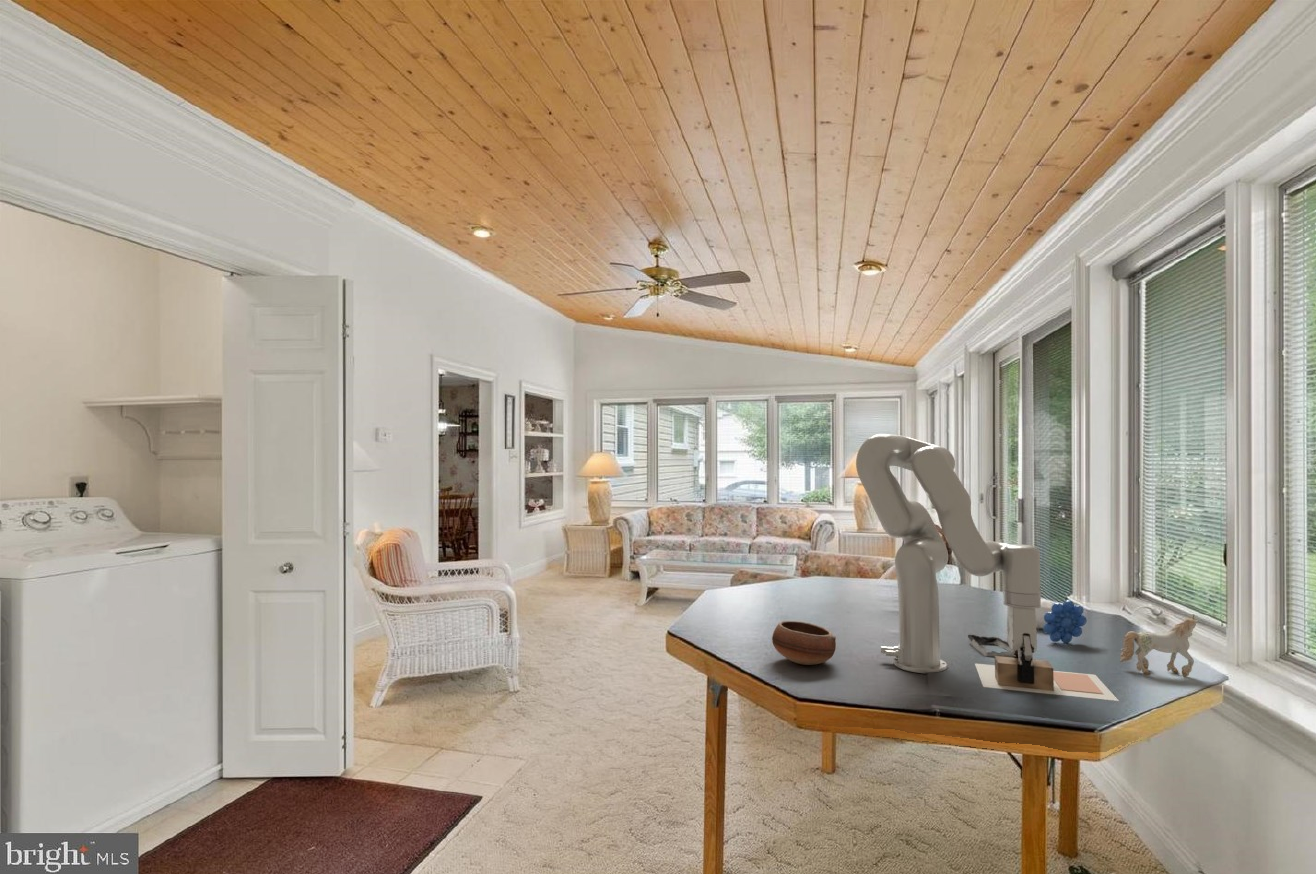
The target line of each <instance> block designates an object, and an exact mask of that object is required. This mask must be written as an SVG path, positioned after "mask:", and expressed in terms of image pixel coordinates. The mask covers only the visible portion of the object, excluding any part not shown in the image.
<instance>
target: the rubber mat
mask: <svg viewBox="0 0 1316 874" xmlns="http://www.w3.org/2000/svg"><path fill="white" fill-rule="evenodd" d="M974 665H975V669H976V670H977V674H978V676H979V679H980V682H981V685H982V687H983V688H989V689H998V690H999V689H1001V690H1009V691H1018V692H1019V691H1020V692H1028V693H1036V694H1037V693H1038V694H1046V695H1058V696H1064V697H1065V696H1067V697H1075V698H1076V697H1077V698H1084V699H1094V700H1104V701H1113V702H1114V701H1115V702H1120V700H1119V699H1118V698H1117V697H1116V695H1114V694H1113V692H1112V691H1110V689H1109V688H1108V687H1107V686H1106V684H1104V682H1103V681H1102V680H1101V679H1100V678H1099V677H1098V676H1097V675H1096V674H1091V673H1080V672H1071V671H1062V670H1061V671H1058V670H1053V676H1054V691H1050V690H1041V689H1032V688H1023V687H1013V686H1004V685H998V683H997V680H996V678H995V664H986V663H974Z"/></svg>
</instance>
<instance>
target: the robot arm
mask: <svg viewBox="0 0 1316 874" xmlns="http://www.w3.org/2000/svg"><path fill="white" fill-rule="evenodd" d="M855 466H856V467H855V468H856V472H857V476H858V478H859V481H860V483H861V485H862V486H863V488H864V490H865V492H866V495H867V497H868V499H869V501H870V503H871V506H872V508H873V510H874V512H875V514H876V517H877V519H878V520H879V522H880V524H881V526H882V529H883V530H884V532H885V533H886V534H887V535H889V536H890V537H892V538H895V539H896V538H897V539H902V541H903V542H904V543H903V544H902V545H901V546H900V547H899V548H898V549H897V552H896V554H895V557H894V566H895V573H896V581H897V589H898V590H897V591H898V592H897V594H898V597H897V598H898V626H899V627H898V635H899V636H898V638H899V643H897V645H894V646H888V645H887V646H886V645H885V646H884V645H881V646H880V653H881V655H885V656H887V657H893V661H892V662H893V665H894V666H895V667H897V668H899V669H901V670H904V671H907V672H911V673H919V674H928V673H939V672H944V671H946V670H947V669H948V663H947V662H946V661H945V660H943V659H942V658H941V636H940V635H941V633H940V630H941V629H940V627H941V626H940V598H939V587H938V582H937V581H938V580H937V575H936V574H937V573H939V572H941V571H942V570H944V568H945V567H946V566H947V564H948V561H949V553H948V548H947V546H946V544H945V542H944V540H943V538H942V536H941V534H940V532H939V530H938V528H937V526H936V524H935V523H934V520H933V518H932V516H931V514H930V513H929V511H928V510H927V509H926V508H925V506H924V505H922V504H921V503H920V502H918V501H916V500H913V499H908V498H907V497H906V494H905V493H904V491H903V489H902V487H901V485H900V482H899V481H898V479H897V478H896V476H895V475H894V474H893V472H892V470H891V468H890V467H899V468H902V469H904V470H908V471H911V472H913V475H914V476H915V478H916V480H917V481H918V482H919V484H920V486H921V487H922V489H923V491H924V492H925V494H926V496H927V498H928V499H929V501H930V503H931V504H932V507H933V508H934V510H935V512H936V514H937V519H938V521H939V524H940V526H941V529H942V533H943V536H944V537H945V540H946V542H947V543H948V546H949V548H950V550H951V551H952V552H953V555H954V556H955V558H956V560H957V561H958V563H959V564H960V565H961V567H962V568H963V569H964V570H965V571H966V572H967V573H969V574H970V575H972V576H975V577H985V576H989V575H991V574H993V573H997V572H1002V583H1003V584H1002V588H1003V590H1002V592H1003V597H1002V598H1003V602H1002V603H1003V605H1005V606H1007V608H1006V609H1007V610H1006V641H1007V643H1008V644H1009V646H1010V648H1011V649H1012V650H1013V655H1014V656H1012V658H1019V664H1017V672H1018V682H1019V683H1028V684H1034V666H1033V660H1034V655H1033V654H1034V653H1036V652H1037V648H1038V647H1037V646H1038V644H1037V643H1038V640H1037V637H1038V636H1037V634H1038V632H1037V628H1036V609H1038V608H1040V607H1041V600H1042V599H1041V598H1042V597H1041V593H1042V592H1041V554H1040V550H1039V548H1037V547H1036V546H1034V545H1029V544H1023V543H1022V544H1021V543H1019V544H1018V543H1015V544H1014V543H1013V544H1011V543H1010V544H1009V543H1003V542H999V541H994V540H985V539H984V538H983V536H982V535H981V533H980V532H979V531H978V529H977V527H976V525H975V522H974V519H973V516H972V510H971V509H972V501H971V500H972V499H971V496H970V495H969V493H968V491H967V489H966V488H965V486H964V485H963V483H962V481H961V480H960V478H959V476H958V475H957V473H956V472H955V468H956V460H955V458H954V455H953V454H952V452H951V451H950V450H949V449H947V448H945V447H943V446H939V445H936V444H932V443H928V442H926V441H925V442H924V441H921V440H919V439H915V438H911V437H909V436H904V435H899V434H890V433H877V434H874V435H872V436H870V437H868V438H867V439H866V440H864V441H863V442H862V444H861V446H860V447H859V449H858V451H857V455H856V459H855Z"/></svg>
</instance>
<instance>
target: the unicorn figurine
mask: <svg viewBox="0 0 1316 874" xmlns="http://www.w3.org/2000/svg"><path fill="white" fill-rule="evenodd" d="M1198 623H1199V620H1198V619H1196V620H1195V613H1192V615H1191V617H1188V616H1186V617H1185V619H1184V620H1183V621H1181V622H1180V623H1177V624H1175V626H1174V627H1172V628H1171V629H1169V630H1168V631H1165V632H1163V633H1157V632H1151V631H1141V632H1137V631H1133V630H1131V631H1128V632H1127V633H1126V635H1124V639H1123V648H1120V650H1121V651H1122V652H1121V654H1120V656H1121V657H1120V660H1119V662H1120V663H1123V662H1127V661H1130V660H1131V659H1132V658H1133V656H1134V654H1135V655H1136V656H1137V657H1136V658H1137V663H1136V669H1137V671H1138V672H1142V673H1143V674H1145V675H1150V674H1151V673H1150V671H1149V664H1150V663H1149V660H1148V659H1147V658H1146V656H1147V655H1148V654H1150V652H1151V651H1153V650H1154V651H1157V652H1162V653H1167V654H1169V653H1170V659H1169V660H1170V661H1169V662H1168V663H1167V664H1166V669H1167V672H1170V671H1171V672H1172V673H1174V674H1176V673H1177V674H1178V673H1179V670H1178V668H1177V667H1175V660H1176V658H1177V655H1178V654H1179V655H1181V656H1182V657H1184V658H1185V659H1186V660H1187V661H1188V663H1187V664H1185V665H1183V666H1182V667H1181V675H1182V676H1183V677H1184V678H1186V677H1188V676H1190V673H1191V672H1192V670H1193V666H1194V663H1195V661H1194V658H1193V657H1192V655H1191V654H1190V653H1189V652H1188V650H1189V649H1190V642H1189V638H1190V637H1192V636H1193V635H1194V634H1193V631H1194V629H1195V628H1196V625H1197V624H1198ZM1135 644H1136V645H1137V646H1138V647H1137V649H1136V650H1135Z"/></svg>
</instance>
